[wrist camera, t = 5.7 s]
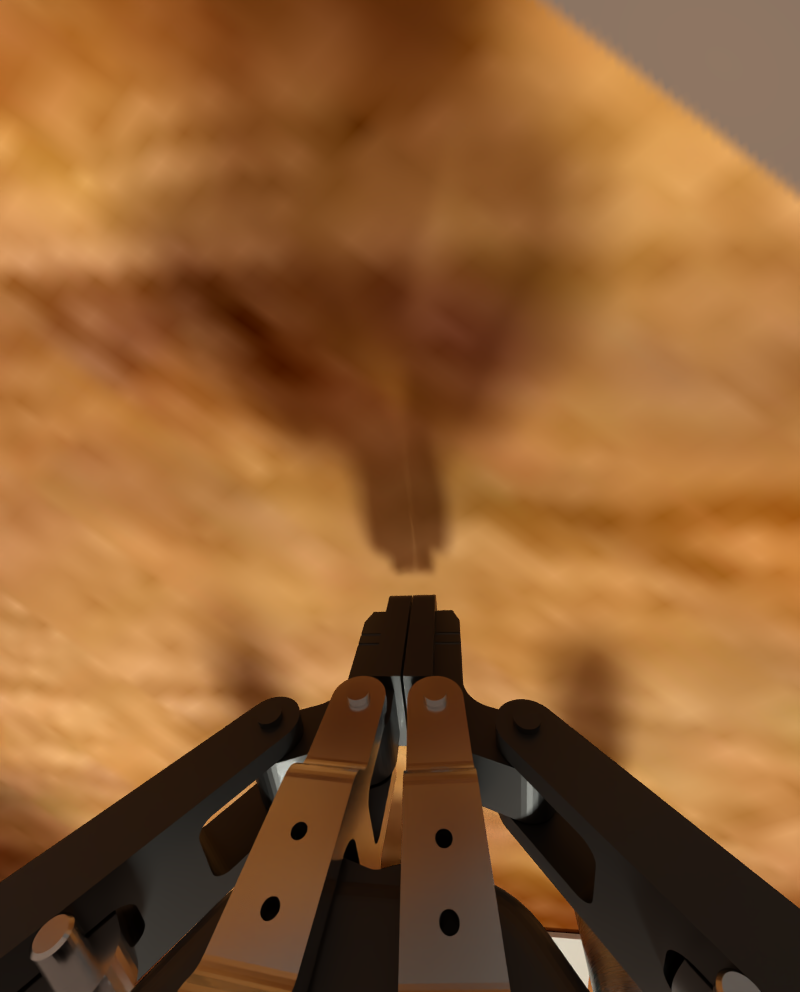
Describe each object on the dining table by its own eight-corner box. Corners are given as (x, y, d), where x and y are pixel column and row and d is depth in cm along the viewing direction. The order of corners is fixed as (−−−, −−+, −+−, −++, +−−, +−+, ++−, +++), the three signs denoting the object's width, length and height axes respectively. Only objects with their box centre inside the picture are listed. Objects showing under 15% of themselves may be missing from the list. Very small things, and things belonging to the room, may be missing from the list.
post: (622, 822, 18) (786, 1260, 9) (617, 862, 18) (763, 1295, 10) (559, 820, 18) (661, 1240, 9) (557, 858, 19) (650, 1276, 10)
